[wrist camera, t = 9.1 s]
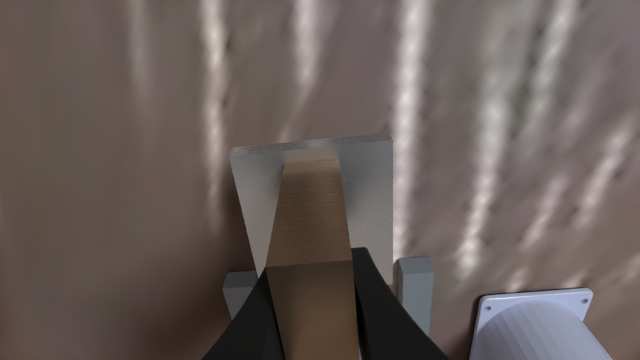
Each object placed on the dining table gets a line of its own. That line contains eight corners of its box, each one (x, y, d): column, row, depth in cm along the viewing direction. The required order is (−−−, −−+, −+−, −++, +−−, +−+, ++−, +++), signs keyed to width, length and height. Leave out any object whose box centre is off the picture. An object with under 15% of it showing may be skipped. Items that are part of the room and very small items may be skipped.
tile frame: (420, 356, 29) (425, 373, 28) (255, 368, 30) (253, 385, 28) (427, 256, 24) (434, 272, 23) (227, 272, 24) (222, 288, 23)
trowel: (388, 132, 13) (443, 234, 8) (389, 271, 16) (427, 415, 11) (233, 147, 13) (172, 257, 8) (264, 282, 17) (237, 428, 11)
